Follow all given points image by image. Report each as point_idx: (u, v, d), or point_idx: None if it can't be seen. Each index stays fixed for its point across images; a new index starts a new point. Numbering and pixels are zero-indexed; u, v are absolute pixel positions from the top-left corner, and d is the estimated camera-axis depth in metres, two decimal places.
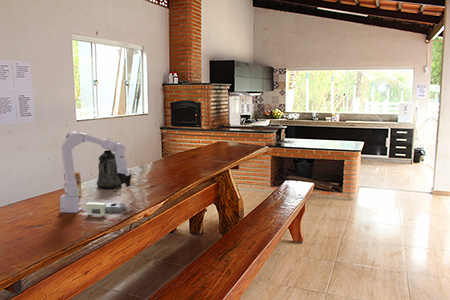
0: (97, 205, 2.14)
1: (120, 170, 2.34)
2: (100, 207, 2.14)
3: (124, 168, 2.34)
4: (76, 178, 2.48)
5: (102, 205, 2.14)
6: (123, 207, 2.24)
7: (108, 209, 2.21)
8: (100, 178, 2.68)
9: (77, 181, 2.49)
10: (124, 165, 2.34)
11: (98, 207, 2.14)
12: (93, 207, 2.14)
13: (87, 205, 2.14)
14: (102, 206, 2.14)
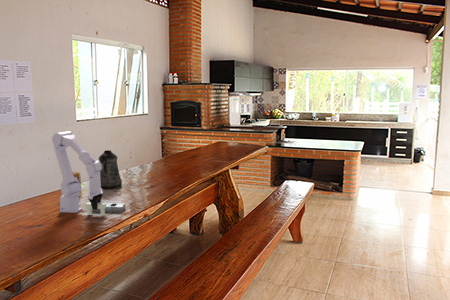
0: None
1: (90, 191, 2.12)
2: (100, 207, 2.14)
3: (93, 190, 2.11)
4: None
5: (102, 205, 2.14)
6: (123, 207, 2.24)
7: (108, 209, 2.21)
8: (100, 178, 2.68)
9: None
10: (94, 187, 2.11)
11: (98, 207, 2.14)
12: None
13: (87, 205, 2.14)
14: (102, 206, 2.14)
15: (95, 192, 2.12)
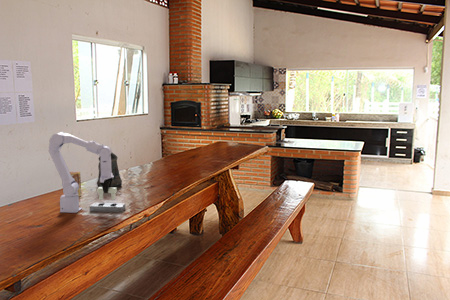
0: (108, 189, 2.22)
1: (101, 175, 2.20)
2: (111, 191, 2.22)
3: (104, 174, 2.19)
4: (76, 178, 2.48)
5: (113, 189, 2.21)
6: (123, 207, 2.24)
7: (108, 209, 2.21)
8: None
9: (77, 181, 2.49)
10: (105, 171, 2.19)
11: (109, 191, 2.22)
12: None
13: (98, 189, 2.22)
14: (113, 190, 2.21)
15: (106, 176, 2.19)
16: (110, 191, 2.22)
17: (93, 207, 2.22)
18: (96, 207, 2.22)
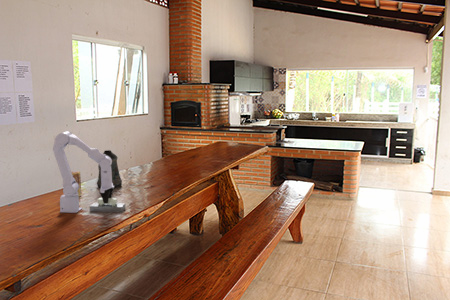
0: (109, 200, 2.23)
1: (101, 185, 2.21)
2: (111, 202, 2.23)
3: (105, 184, 2.20)
4: (76, 178, 2.48)
5: (113, 200, 2.22)
6: (123, 207, 2.24)
7: (108, 209, 2.21)
8: (100, 178, 2.68)
9: (77, 181, 2.49)
10: (105, 181, 2.20)
11: (109, 202, 2.23)
12: None
13: (99, 200, 2.23)
14: (113, 201, 2.22)
15: (107, 186, 2.20)
16: (110, 202, 2.23)
17: (93, 207, 2.22)
18: (96, 207, 2.22)
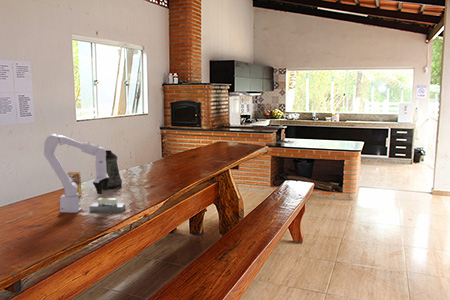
0: (109, 200, 2.23)
1: (96, 175, 2.23)
2: (111, 202, 2.23)
3: (99, 174, 2.22)
4: (76, 178, 2.48)
5: (113, 200, 2.22)
6: (123, 207, 2.24)
7: (108, 209, 2.21)
8: None
9: (77, 181, 2.49)
10: (100, 171, 2.22)
11: (109, 202, 2.23)
12: (105, 202, 2.23)
13: (99, 200, 2.23)
14: (113, 201, 2.22)
15: (101, 176, 2.22)
16: (110, 202, 2.23)
17: (93, 207, 2.22)
18: (96, 207, 2.22)
